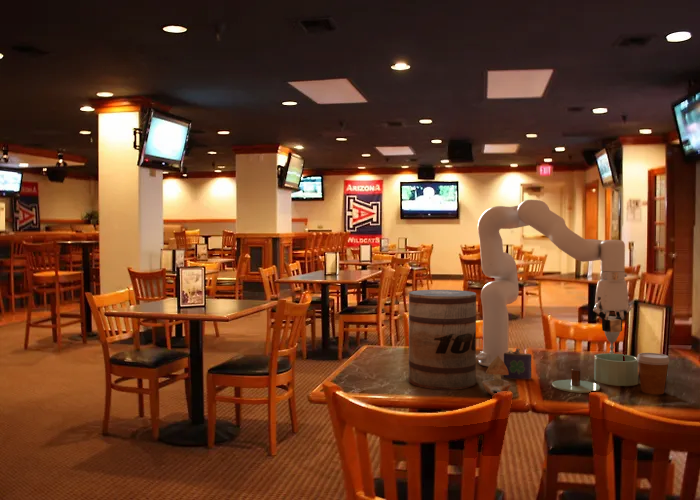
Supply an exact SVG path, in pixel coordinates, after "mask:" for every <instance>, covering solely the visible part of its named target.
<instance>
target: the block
mask: <svg viewBox="0 0 700 500" xmlns="http://www.w3.org/2000/svg"><path fill="white" fill-rule="evenodd" d="M608 320H610V331H609V332H620V333H621V332H622V331H621V320H619V319H614V318H611V319H608Z"/></svg>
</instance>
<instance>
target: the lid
mask: <svg viewBox="0 0 700 500" xmlns="http://www.w3.org/2000/svg"><path fill="white" fill-rule="evenodd" d="M551 386H552V388H554V389H556V390H558V391H563V392H569V393H578V394H579V393H580V394H590V393H592V392H591V391H596V392H599V391H600V390H601V386H600V385H599V384H597V383H595V382H593V381H587V380H582V379H581V369H579V368H570V379H558V380H553V381H552V382H551ZM589 392H590V393H589Z"/></svg>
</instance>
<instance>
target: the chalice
mask: <svg viewBox="0 0 700 500" xmlns="http://www.w3.org/2000/svg"><path fill="white" fill-rule="evenodd" d="M611 318H614V319H615V318H616V316H612V315H609V318H608V319H611ZM603 333H604V335H605V337H606V340H607V341H608V342H609V343H610V345H609V348H610V350H609V353H613V354H615V351H614V349H615V346H614V343H615V342H617V340H618V338H619V336H620V334H621V332H606V331H603Z"/></svg>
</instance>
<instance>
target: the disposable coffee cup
mask: <svg viewBox="0 0 700 500" xmlns="http://www.w3.org/2000/svg"><path fill="white" fill-rule="evenodd" d="M636 357H637V358H636V359H637V361H638V367H639V383H640V390H641V392H642V393H645V394H648V395H649V394H650V395H664V393H665V387H666V383H667V382H666V381H667V374H668V368H669V365H670V363H671V359H670V358H669V356H668V355H667V354H663V353H658V352H640V353H638V354H637V356H636Z"/></svg>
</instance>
